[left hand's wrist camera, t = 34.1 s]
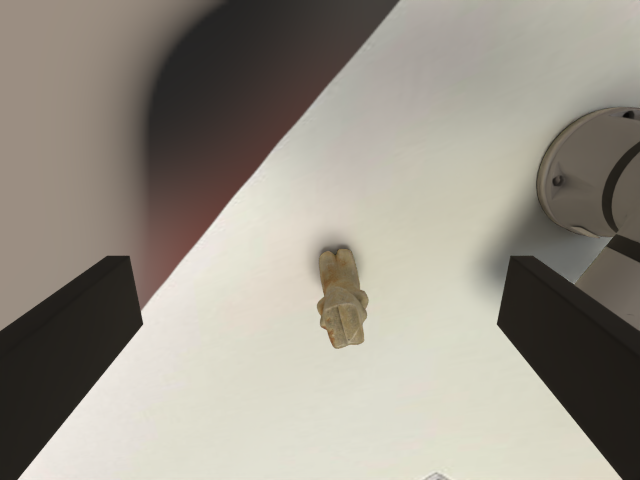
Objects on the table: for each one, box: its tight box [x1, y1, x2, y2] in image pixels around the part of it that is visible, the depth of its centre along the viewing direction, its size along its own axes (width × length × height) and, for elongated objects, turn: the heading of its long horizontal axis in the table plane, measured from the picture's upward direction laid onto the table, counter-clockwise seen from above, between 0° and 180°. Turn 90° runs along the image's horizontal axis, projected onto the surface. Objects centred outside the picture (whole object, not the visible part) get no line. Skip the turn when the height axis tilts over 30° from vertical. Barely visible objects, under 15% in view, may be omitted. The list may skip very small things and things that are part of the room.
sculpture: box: [317, 249, 368, 349], centre depth 42 cm, size 6×7×15 cm
